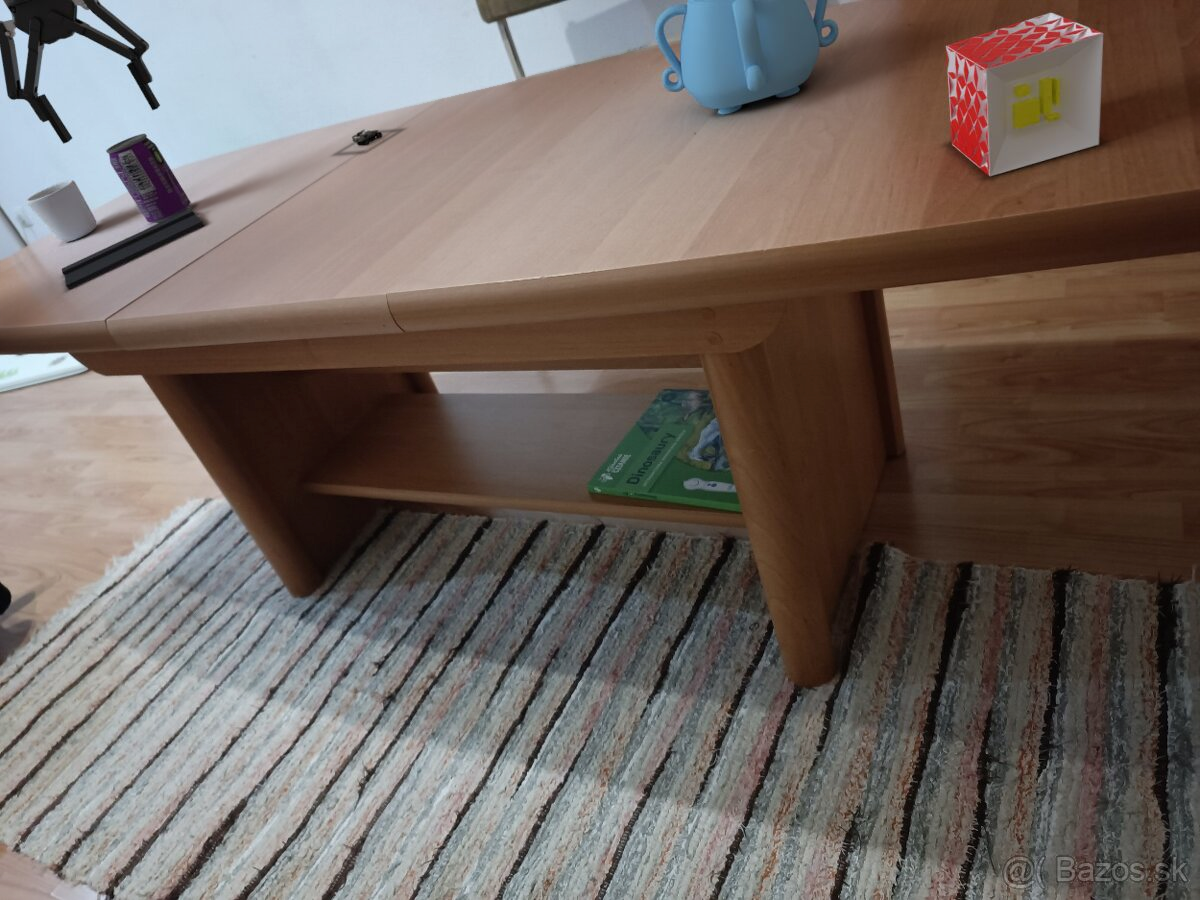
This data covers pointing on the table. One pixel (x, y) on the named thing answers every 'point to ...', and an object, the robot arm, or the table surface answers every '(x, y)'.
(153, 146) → the beverage can
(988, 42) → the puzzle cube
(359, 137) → the toy car
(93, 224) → the cup
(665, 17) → the decorative pot
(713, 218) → the table surface
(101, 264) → the slotted black track
